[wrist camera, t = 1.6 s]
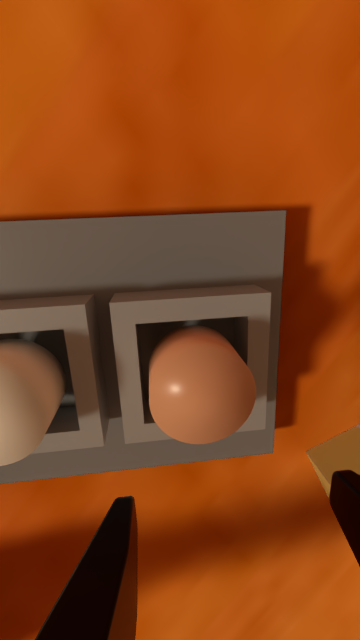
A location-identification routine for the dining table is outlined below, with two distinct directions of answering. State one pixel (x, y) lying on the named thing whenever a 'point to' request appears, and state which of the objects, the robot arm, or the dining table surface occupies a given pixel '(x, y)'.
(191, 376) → the button terracotta
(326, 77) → the dining table surface
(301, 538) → the dining table surface
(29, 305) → the panel
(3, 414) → the button ivory
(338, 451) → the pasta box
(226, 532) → the dining table surface
